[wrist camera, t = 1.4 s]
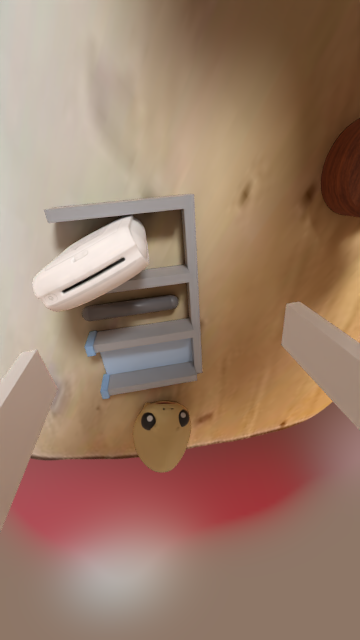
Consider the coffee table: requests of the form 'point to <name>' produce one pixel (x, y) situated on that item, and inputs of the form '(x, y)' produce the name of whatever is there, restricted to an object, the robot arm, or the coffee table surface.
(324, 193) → the music box
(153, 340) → the grey shelf rack
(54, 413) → the coffee table surface
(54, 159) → the coffee table surface
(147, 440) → the tan frog figure
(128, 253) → the photo printer
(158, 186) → the coffee table surface
